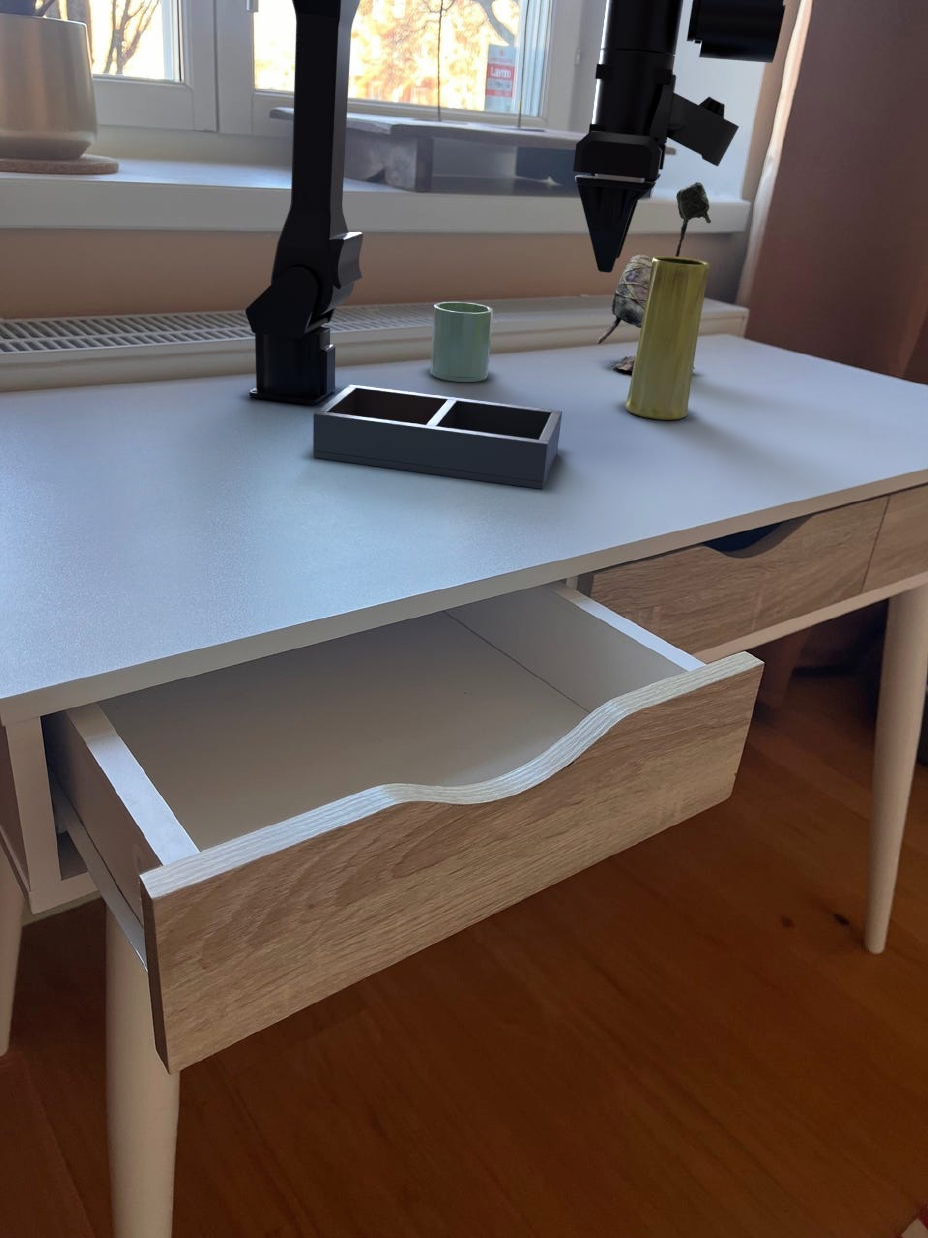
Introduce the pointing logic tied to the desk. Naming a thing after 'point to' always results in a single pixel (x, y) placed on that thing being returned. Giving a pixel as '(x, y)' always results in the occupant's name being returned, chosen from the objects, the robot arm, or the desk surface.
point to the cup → (461, 341)
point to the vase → (668, 338)
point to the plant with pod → (637, 272)
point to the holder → (438, 435)
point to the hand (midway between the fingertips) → (609, 264)
